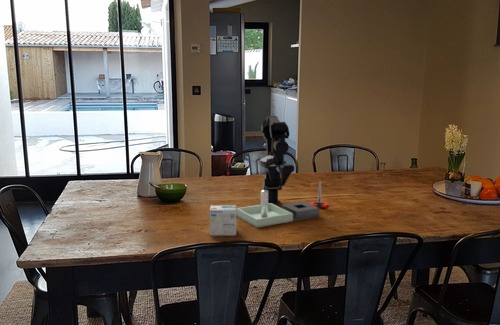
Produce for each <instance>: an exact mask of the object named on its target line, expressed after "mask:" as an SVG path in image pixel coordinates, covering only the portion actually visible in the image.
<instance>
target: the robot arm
mask: <svg viewBox="0 0 500 325" xmlns="http://www.w3.org/2000/svg"><path fill="white" fill-rule="evenodd" d="M289 128H290V127H289V125H288V124H287V122H286V121H281V120H279V118H278V116H277V115H269V116H268V115H267V116H266V119H265V120H263V121H262V122H261V127H260V132H261V134H262V138H263V140H264V141H265V145H266V146H265V148H266V156H264V157H262V158H260V159H259V162H260V166H261V167H262V168H265V169H266V170H267V172H266V173H265V175H264V178H263V181H262V190H268V203H272V204H276V203H281V200H279V191H282V188H283V187H284V186H285V184H286V183H287V181H288V179H289V177H290V176H291V174H292V173H293V172H295V166H294V165H293V164H290V163H287V162H286V160H285V155H287V153H288V151H289V149H290V147H289V144H288V142H287V141H286V139H289V137H290V129H289ZM277 168H278V169H277Z"/></svg>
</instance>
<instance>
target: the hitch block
mask: <svg viewBox="0 0 500 325" xmlns="http://www.w3.org/2000/svg"><path fill="white" fill-rule="evenodd" d="M281 208H282V209H284V210H286V211H289V212H291V213H293V221H294V220H295V221H302V220H308V219H313V218H319V217H320V216H319V215H320V208H318V207H315V206H313V205H311V204H310V203H308V202H306V201H296V202H291V203H284V204H281Z"/></svg>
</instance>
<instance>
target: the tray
mask: <svg viewBox="0 0 500 325" xmlns="http://www.w3.org/2000/svg"><path fill="white" fill-rule="evenodd" d="M236 215H237V218H239V219H241V220H243V221H244V222H246V223H248V224H249V225H251V226H253V227H254V228H256V229H258V228H262V227H269V226H274V225H279V224H285V223H286V224H287V223H291V222H294V219H293V213H291V212H289V211H286V210H284V209H282V207H281V206H278V205H276V204H275V203H268V217H266V218H261V217H260V215H261V204H257V205H256V204H255V205H249V206H244V207H243V206H241V207H236Z"/></svg>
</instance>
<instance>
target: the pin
mask: <svg viewBox="0 0 500 325" xmlns="http://www.w3.org/2000/svg"><path fill="white" fill-rule="evenodd" d="M260 205H261V215H260V217H261V218H266V217H268V190H263V189H261V190H260Z"/></svg>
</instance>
